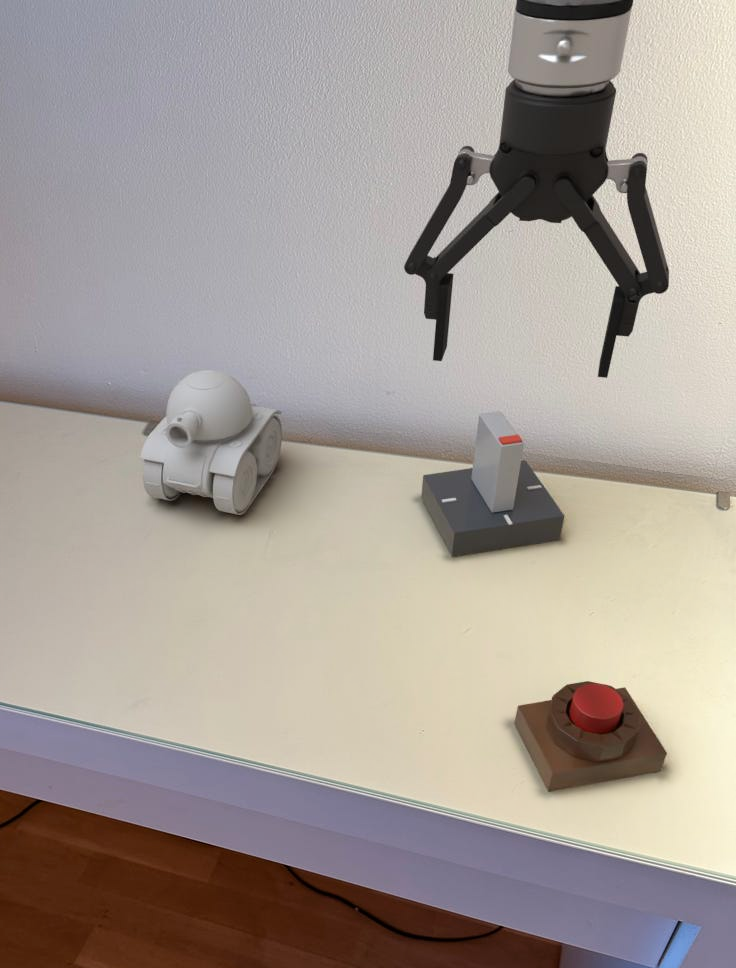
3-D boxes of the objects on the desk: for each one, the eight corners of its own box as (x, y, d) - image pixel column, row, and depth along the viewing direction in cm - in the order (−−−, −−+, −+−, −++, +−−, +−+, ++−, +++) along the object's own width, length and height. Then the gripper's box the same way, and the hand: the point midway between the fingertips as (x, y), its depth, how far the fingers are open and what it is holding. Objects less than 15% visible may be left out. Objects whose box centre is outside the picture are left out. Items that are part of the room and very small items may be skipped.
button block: (619, 705, 78) (630, 670, 75) (660, 771, 73) (673, 737, 70) (513, 723, 77) (520, 689, 75) (547, 791, 72) (556, 758, 70)
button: (606, 695, 74) (610, 679, 73) (627, 729, 72) (632, 714, 70) (561, 703, 74) (565, 687, 73) (581, 737, 71) (585, 722, 70)
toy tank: (233, 534, 98) (223, 422, 89) (141, 514, 101) (123, 404, 92) (286, 456, 107) (282, 348, 98) (201, 440, 111) (189, 335, 102)
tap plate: (521, 483, 101) (525, 457, 99) (560, 541, 94) (565, 514, 92) (420, 498, 100) (422, 473, 98) (452, 558, 93) (455, 531, 91)
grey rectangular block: (470, 479, 97) (479, 411, 92) (491, 476, 97) (501, 408, 92) (491, 513, 93) (501, 444, 87) (513, 509, 93) (524, 440, 88)
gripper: (374, 90, 68) (366, 367, 82) (758, 101, 61) (675, 399, 76) (396, 62, 73) (384, 328, 87) (752, 70, 66) (676, 355, 81)
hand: (519, 361), depth 82 cm, fingers open, 13 cm apart
